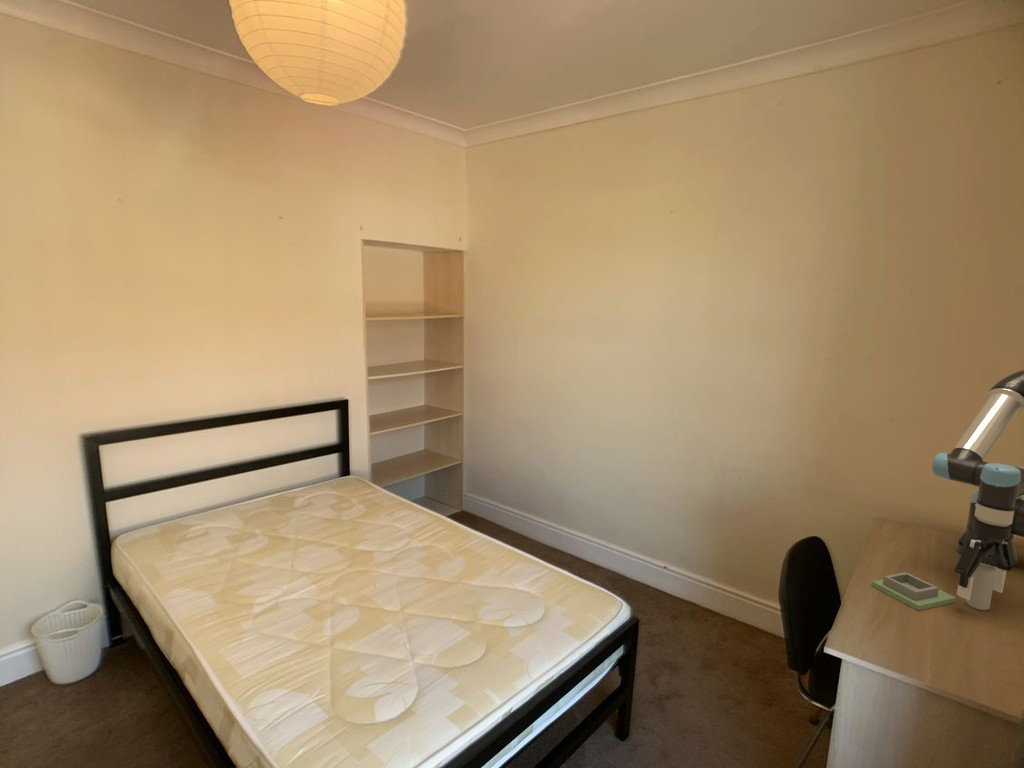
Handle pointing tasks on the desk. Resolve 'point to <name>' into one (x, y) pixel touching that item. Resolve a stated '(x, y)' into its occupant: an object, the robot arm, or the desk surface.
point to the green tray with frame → (913, 591)
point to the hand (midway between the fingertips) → (979, 593)
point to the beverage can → (982, 587)
